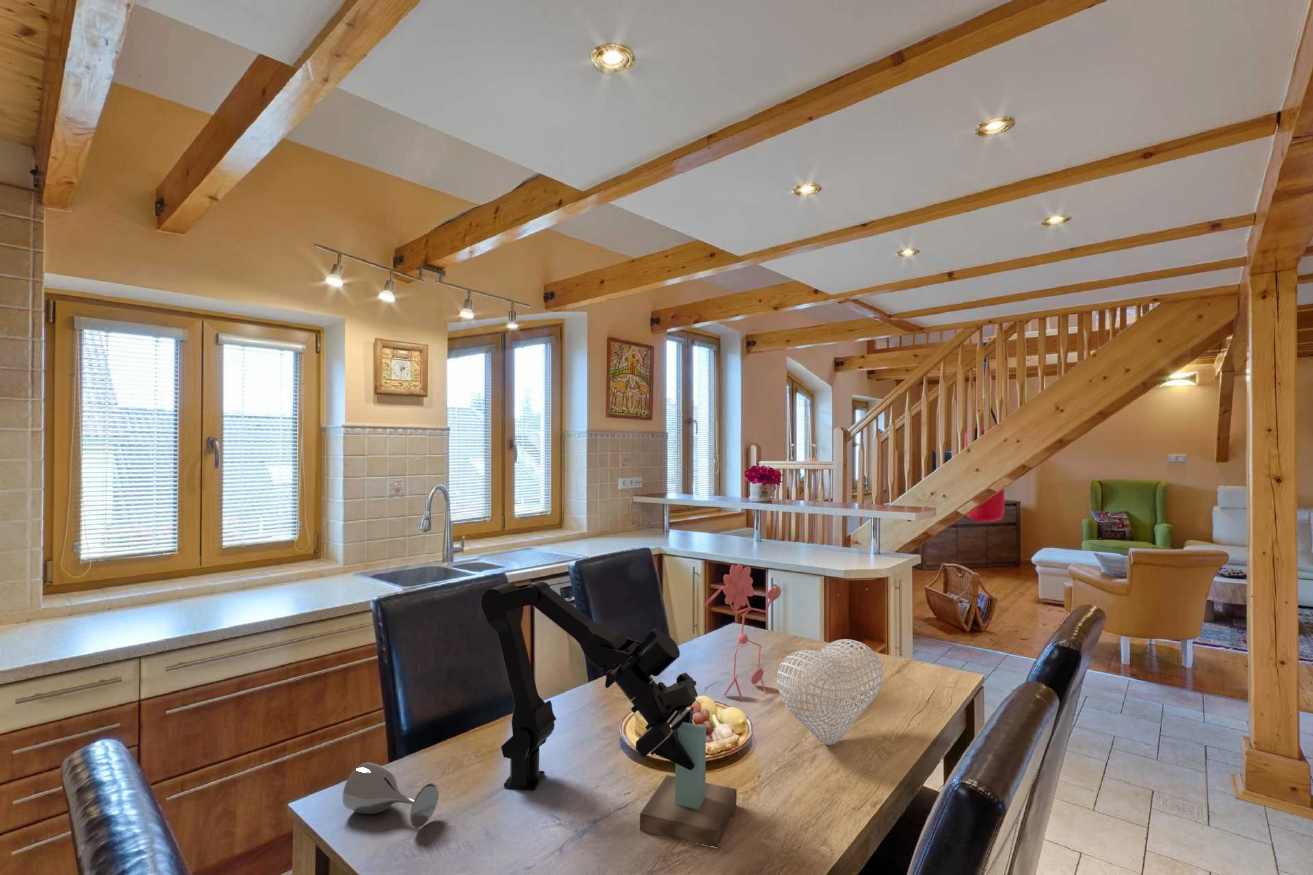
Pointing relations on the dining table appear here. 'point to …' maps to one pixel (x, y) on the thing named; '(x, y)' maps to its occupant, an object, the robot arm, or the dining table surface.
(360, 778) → the wine glass
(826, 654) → the heart
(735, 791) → the walnut pedestal
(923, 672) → the dining table surface
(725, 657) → the dining table surface
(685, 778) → the teal block
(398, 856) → the dining table surface
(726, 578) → the flower headed figure
